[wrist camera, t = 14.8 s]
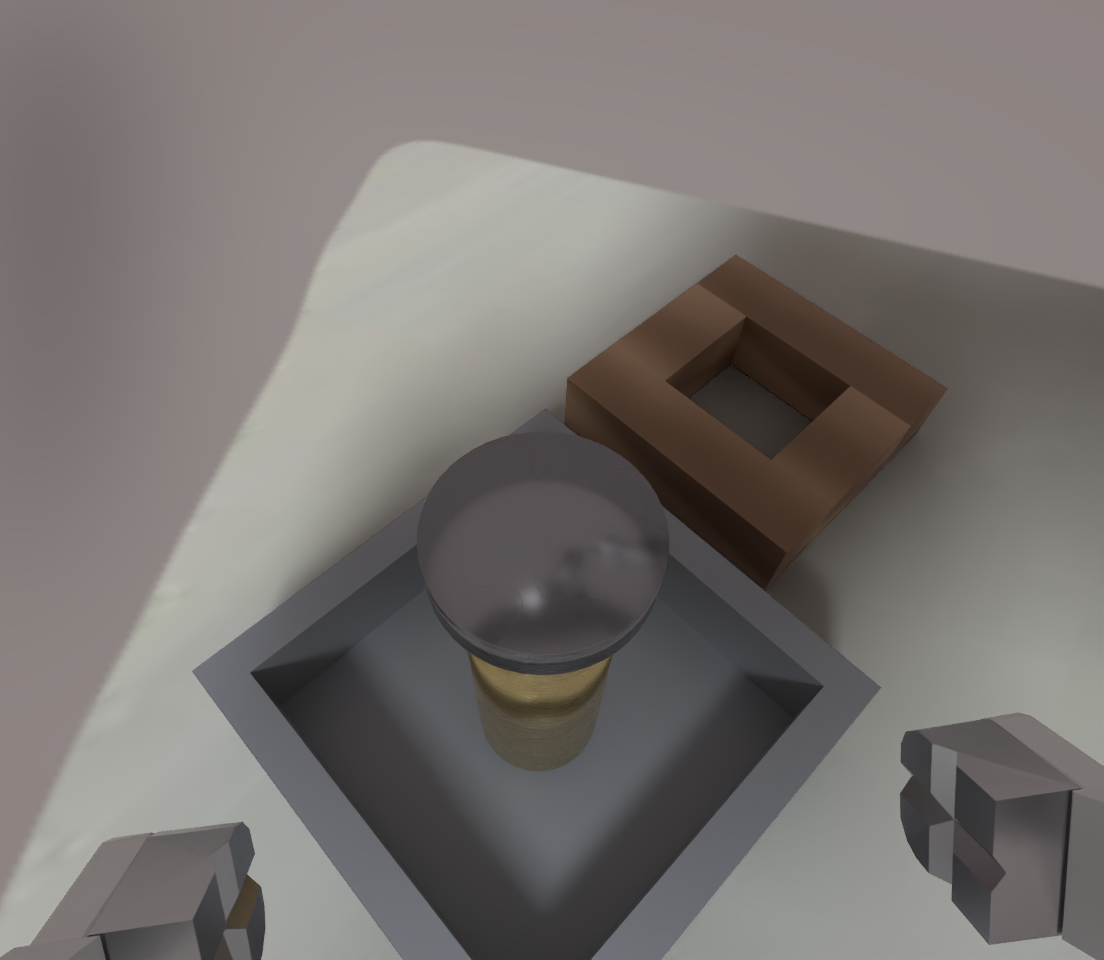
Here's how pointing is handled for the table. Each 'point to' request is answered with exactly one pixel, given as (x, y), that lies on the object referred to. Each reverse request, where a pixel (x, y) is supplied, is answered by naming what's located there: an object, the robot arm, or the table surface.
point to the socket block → (720, 454)
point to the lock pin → (541, 582)
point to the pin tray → (521, 795)
